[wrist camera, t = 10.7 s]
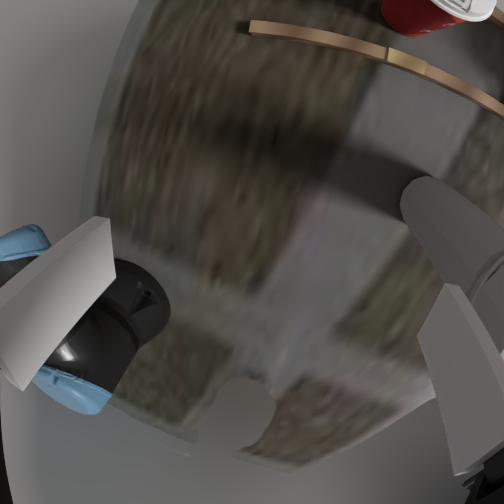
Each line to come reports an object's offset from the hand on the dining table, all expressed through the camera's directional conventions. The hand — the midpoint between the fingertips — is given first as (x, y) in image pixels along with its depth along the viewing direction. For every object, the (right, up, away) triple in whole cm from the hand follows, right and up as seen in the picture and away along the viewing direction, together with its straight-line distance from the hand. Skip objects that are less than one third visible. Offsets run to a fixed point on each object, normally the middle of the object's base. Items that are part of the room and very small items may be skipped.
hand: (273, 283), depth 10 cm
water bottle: (+21, +7, +21) cm, 31 cm away
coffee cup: (+17, +28, +11) cm, 34 cm away
